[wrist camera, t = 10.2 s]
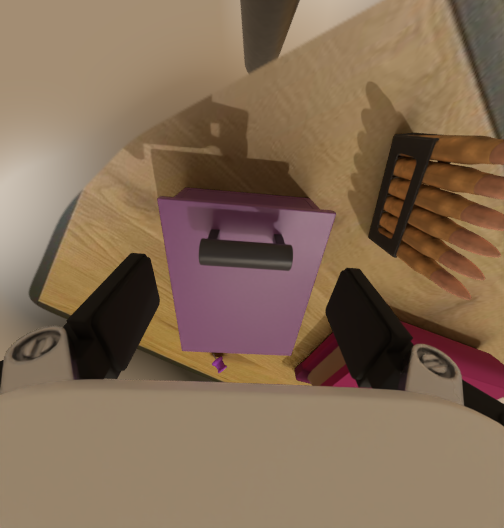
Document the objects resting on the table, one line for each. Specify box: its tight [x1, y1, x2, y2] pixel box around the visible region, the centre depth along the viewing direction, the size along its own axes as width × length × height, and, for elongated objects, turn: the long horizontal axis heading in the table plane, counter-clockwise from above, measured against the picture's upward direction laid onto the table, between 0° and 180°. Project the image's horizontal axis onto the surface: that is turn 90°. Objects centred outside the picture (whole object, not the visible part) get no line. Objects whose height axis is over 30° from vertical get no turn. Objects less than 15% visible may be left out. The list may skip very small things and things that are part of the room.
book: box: [295, 321, 504, 400], centre depth 35 cm, size 21×28×8 cm
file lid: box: [157, 196, 336, 356], centre depth 18 cm, size 18×13×5 cm
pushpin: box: [212, 354, 227, 373], centre depth 36 cm, size 2×3×3 cm
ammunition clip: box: [368, 133, 504, 300], centre depth 17 cm, size 11×2×12 cm, turn 5°
